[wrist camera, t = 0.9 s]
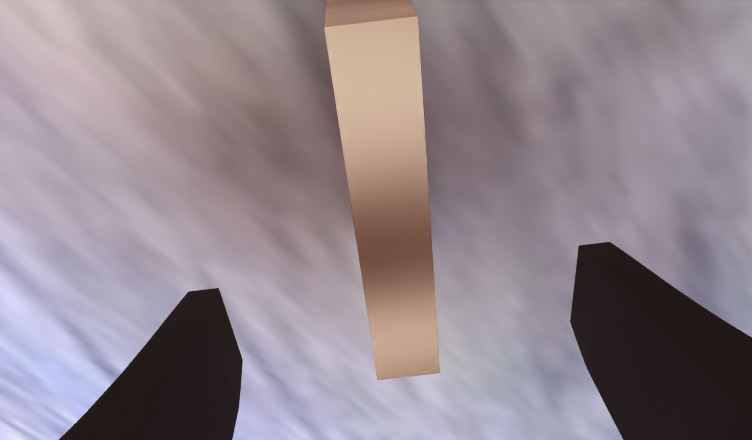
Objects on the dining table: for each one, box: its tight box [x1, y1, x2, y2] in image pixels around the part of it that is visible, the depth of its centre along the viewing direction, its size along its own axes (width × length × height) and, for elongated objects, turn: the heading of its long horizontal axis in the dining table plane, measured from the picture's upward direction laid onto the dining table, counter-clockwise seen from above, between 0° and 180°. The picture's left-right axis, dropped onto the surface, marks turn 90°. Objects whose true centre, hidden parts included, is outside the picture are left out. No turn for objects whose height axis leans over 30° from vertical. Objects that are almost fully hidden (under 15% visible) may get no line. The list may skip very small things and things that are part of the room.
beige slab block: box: [324, 0, 440, 380], centre depth 17 cm, size 10×2×7 cm, turn 6°
